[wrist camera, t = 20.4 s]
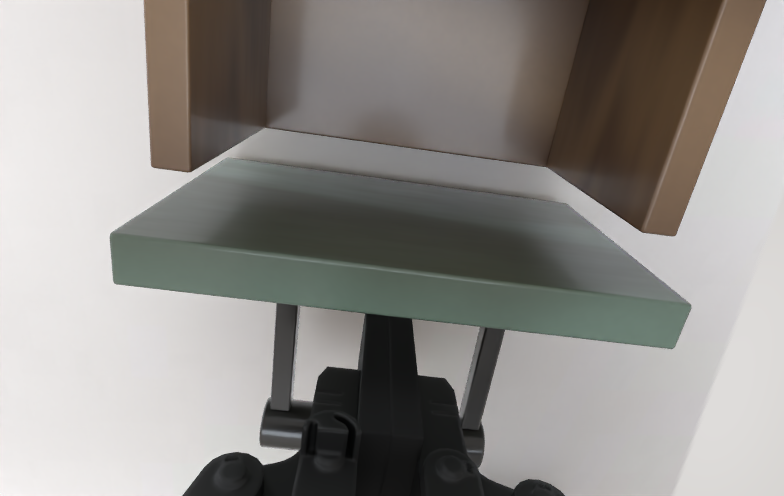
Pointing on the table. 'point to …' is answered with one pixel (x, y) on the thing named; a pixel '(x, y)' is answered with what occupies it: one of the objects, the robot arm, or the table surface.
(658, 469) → the table surface
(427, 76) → the drawer
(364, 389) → the robot arm
